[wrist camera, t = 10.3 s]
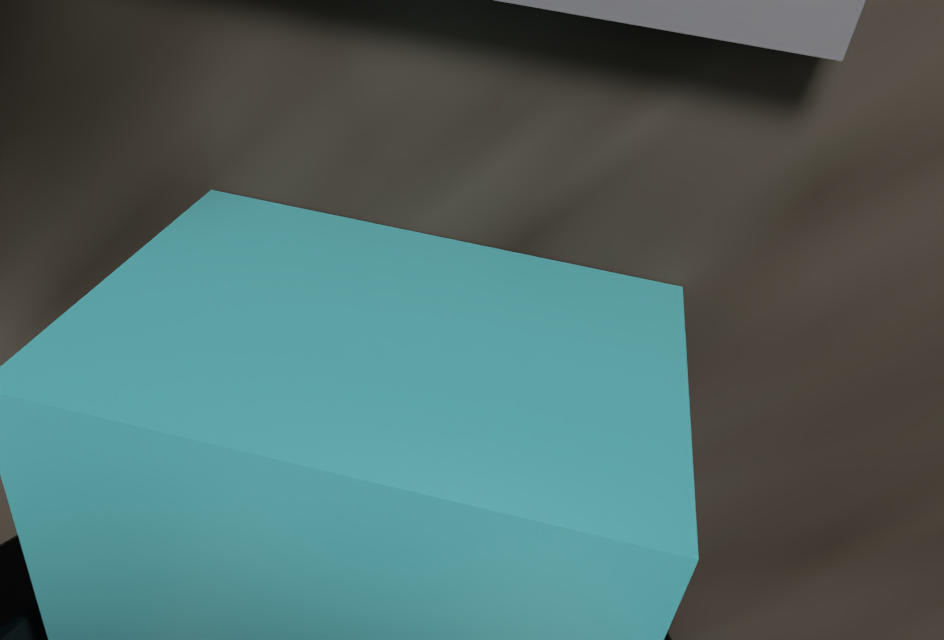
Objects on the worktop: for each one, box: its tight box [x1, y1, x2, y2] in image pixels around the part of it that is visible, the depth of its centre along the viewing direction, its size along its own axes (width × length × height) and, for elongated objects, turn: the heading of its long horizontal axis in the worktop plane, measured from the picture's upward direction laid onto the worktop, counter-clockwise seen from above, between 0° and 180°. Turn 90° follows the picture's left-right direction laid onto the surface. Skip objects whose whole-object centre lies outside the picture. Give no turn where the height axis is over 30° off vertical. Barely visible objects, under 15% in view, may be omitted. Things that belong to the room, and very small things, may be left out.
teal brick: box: [0, 190, 699, 640], centre depth 9 cm, size 7×5×4 cm
